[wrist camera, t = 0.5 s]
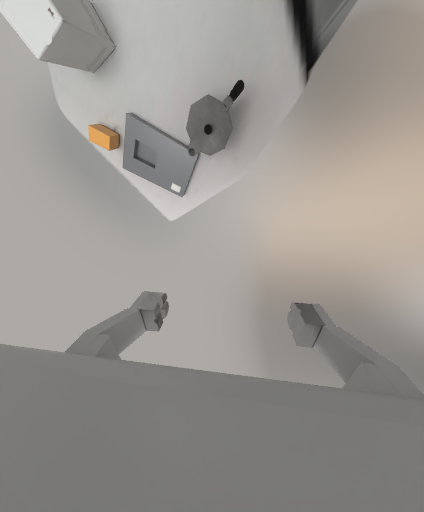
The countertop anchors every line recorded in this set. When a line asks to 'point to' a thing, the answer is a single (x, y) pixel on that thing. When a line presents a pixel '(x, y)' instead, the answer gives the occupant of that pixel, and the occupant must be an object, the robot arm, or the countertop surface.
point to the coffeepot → (211, 123)
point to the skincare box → (60, 31)
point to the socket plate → (156, 156)
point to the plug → (103, 137)
